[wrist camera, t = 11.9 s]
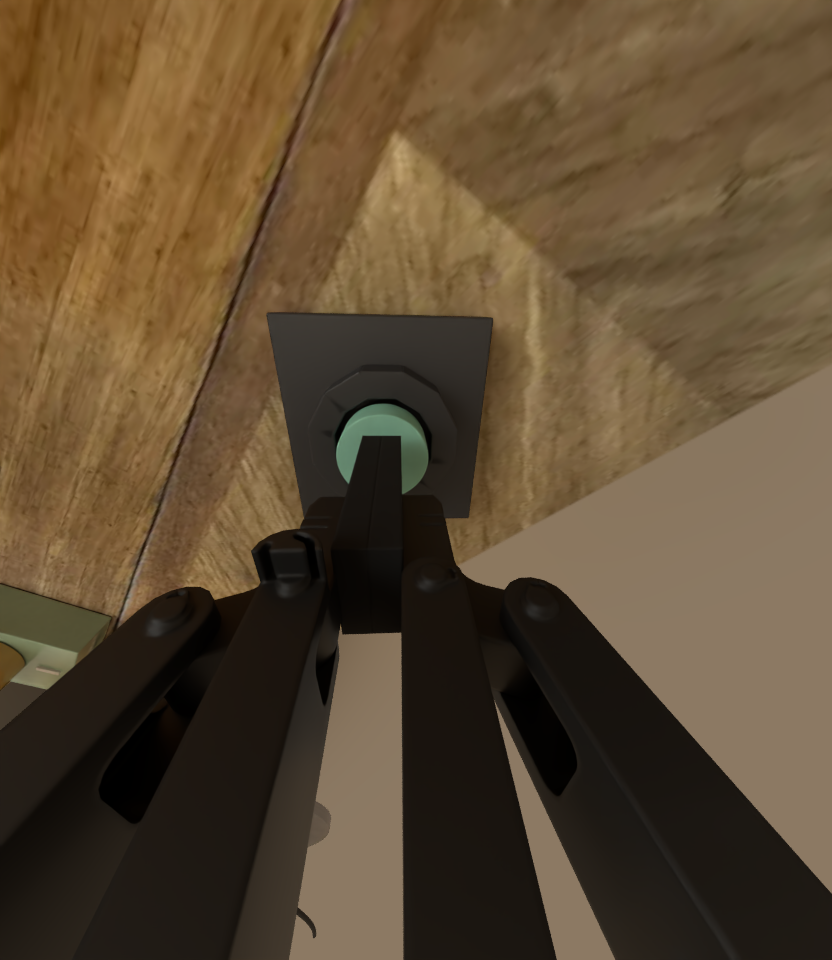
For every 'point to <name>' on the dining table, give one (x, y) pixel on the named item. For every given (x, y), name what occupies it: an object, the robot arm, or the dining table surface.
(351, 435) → the round green button
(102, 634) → the dial panel
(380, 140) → the dining table surface
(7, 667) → the dial
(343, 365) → the button base
